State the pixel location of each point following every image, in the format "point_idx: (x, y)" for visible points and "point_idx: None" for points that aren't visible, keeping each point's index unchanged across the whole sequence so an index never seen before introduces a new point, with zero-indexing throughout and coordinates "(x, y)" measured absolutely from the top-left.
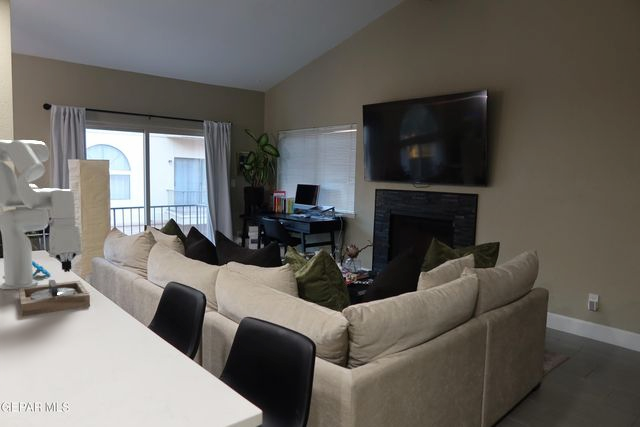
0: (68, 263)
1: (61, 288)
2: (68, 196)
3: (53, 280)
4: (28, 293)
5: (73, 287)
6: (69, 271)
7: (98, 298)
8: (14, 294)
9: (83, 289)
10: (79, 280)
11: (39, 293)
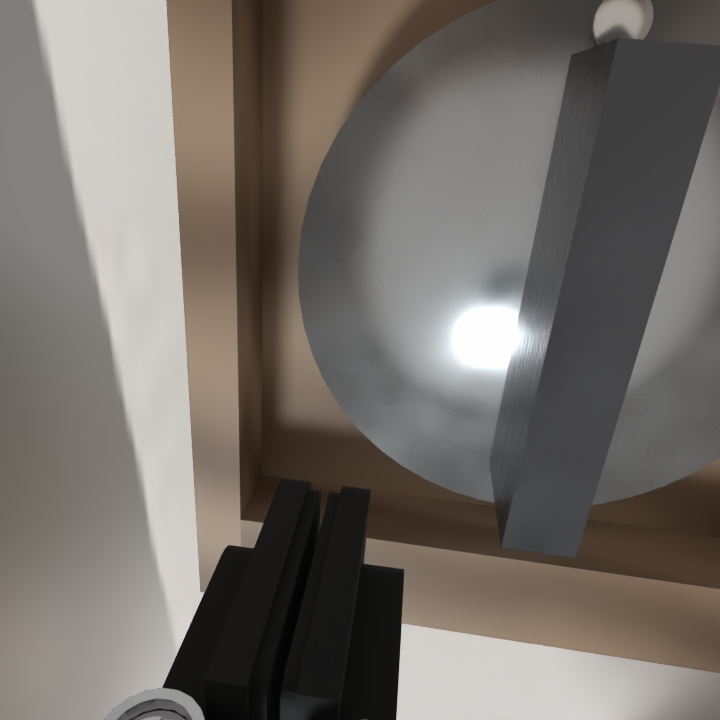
0: (248, 621)
1: (418, 449)
2: None
3: (528, 504)
4: (716, 552)
5: None
6: (288, 479)
7: (100, 86)
8: (711, 711)
9: (203, 123)
10: (201, 591)
11: (698, 378)
